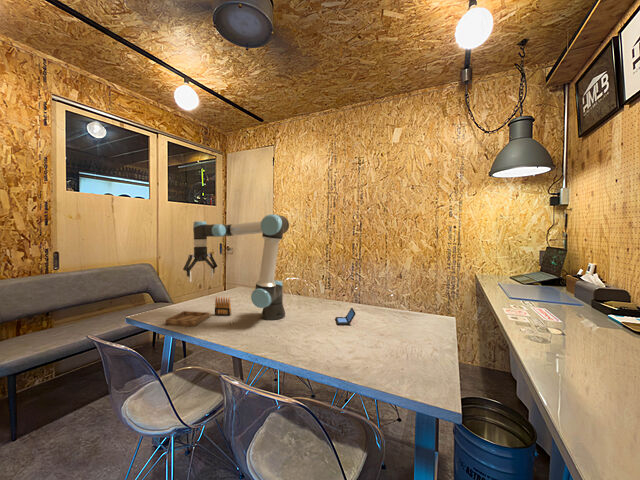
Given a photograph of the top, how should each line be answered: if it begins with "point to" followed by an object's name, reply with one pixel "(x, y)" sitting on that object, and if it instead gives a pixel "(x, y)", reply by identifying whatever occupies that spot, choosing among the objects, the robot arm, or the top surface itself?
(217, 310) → the ammunition clip
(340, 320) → the handheld game console
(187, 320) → the tray
